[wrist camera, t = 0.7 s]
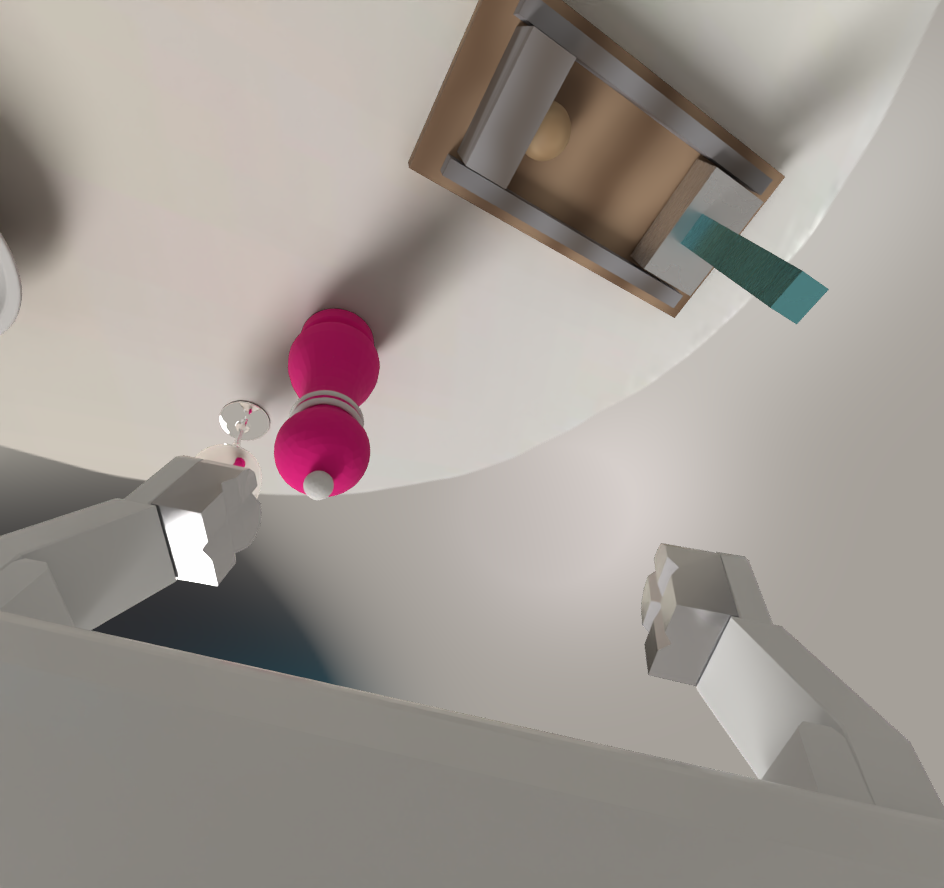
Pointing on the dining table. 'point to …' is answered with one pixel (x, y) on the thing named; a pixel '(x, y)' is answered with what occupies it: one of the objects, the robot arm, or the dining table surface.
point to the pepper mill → (328, 405)
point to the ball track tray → (571, 139)
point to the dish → (8, 287)
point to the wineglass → (239, 437)
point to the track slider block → (721, 244)
